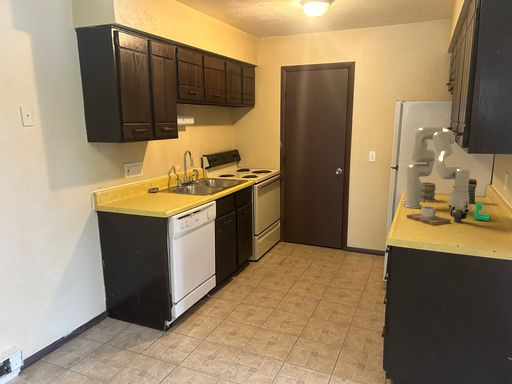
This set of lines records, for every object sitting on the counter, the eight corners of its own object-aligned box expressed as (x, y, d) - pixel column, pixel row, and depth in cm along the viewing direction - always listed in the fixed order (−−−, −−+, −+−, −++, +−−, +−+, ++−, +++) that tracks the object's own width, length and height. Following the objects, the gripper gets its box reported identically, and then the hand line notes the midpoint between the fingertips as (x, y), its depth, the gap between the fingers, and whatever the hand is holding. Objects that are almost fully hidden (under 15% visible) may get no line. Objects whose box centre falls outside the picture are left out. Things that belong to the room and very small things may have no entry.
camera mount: (488, 222, 225) (489, 206, 224) (473, 220, 230) (475, 204, 228) (489, 218, 235) (491, 202, 233) (475, 216, 239) (477, 201, 238)
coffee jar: (461, 203, 281) (463, 179, 278) (459, 201, 288) (462, 177, 285) (475, 204, 277) (478, 180, 274) (474, 202, 284) (476, 178, 281)
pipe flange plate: (406, 217, 236) (407, 205, 235) (423, 215, 242) (424, 203, 240) (432, 225, 218) (433, 212, 217) (450, 222, 224) (451, 210, 222)
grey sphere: (448, 220, 228) (449, 209, 227) (456, 219, 231) (457, 208, 230) (458, 223, 222) (459, 212, 221) (466, 222, 224) (467, 211, 223)
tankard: (434, 199, 295) (436, 181, 292) (435, 202, 283) (437, 183, 280) (407, 198, 302) (409, 180, 299) (407, 200, 291) (409, 182, 288)
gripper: (444, 187, 229) (441, 214, 232) (469, 191, 213) (466, 221, 217) (452, 186, 232) (450, 213, 235) (478, 191, 216) (475, 220, 219)
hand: (458, 217), depth 226 cm, fingers closed on grey sphere, 7 cm apart
